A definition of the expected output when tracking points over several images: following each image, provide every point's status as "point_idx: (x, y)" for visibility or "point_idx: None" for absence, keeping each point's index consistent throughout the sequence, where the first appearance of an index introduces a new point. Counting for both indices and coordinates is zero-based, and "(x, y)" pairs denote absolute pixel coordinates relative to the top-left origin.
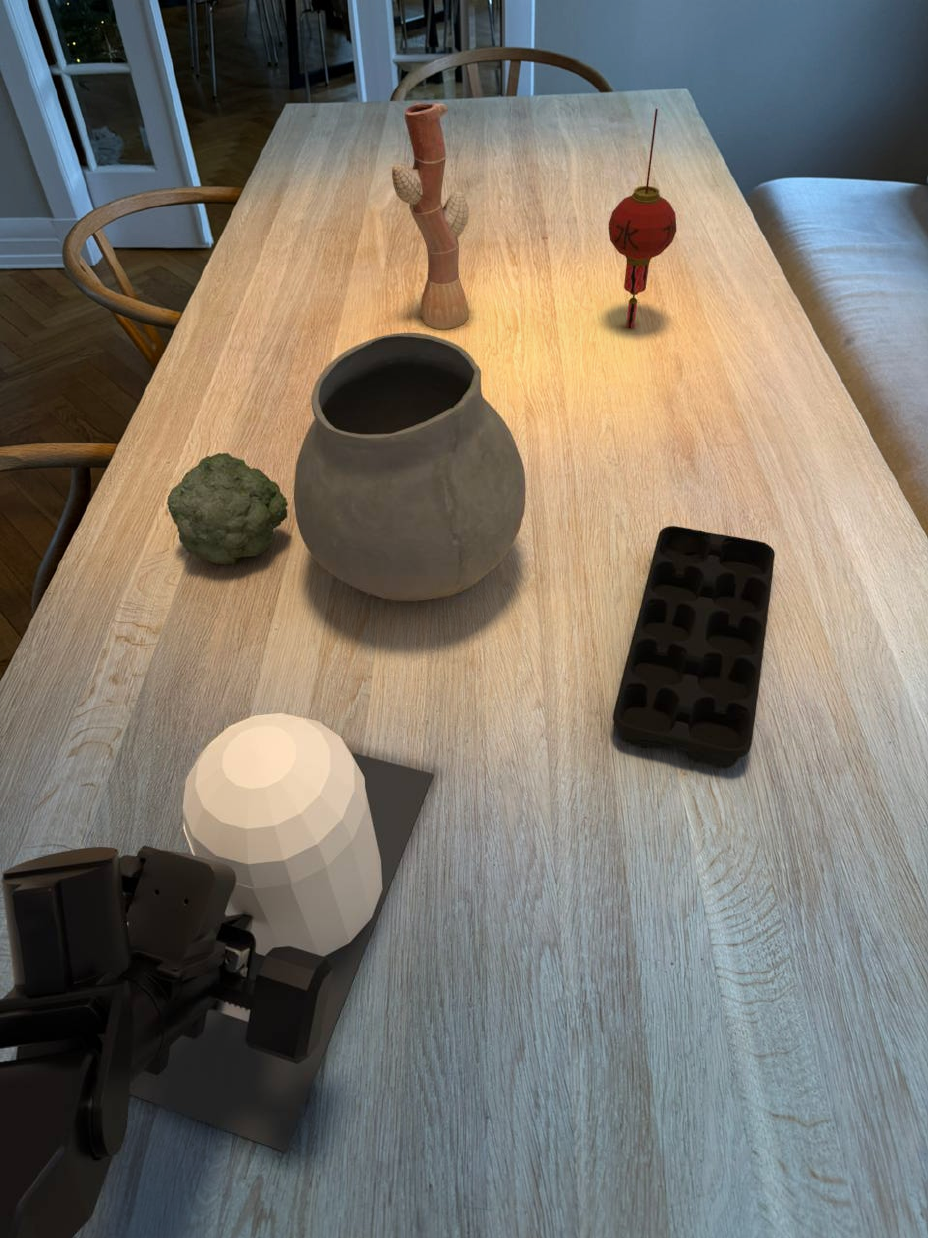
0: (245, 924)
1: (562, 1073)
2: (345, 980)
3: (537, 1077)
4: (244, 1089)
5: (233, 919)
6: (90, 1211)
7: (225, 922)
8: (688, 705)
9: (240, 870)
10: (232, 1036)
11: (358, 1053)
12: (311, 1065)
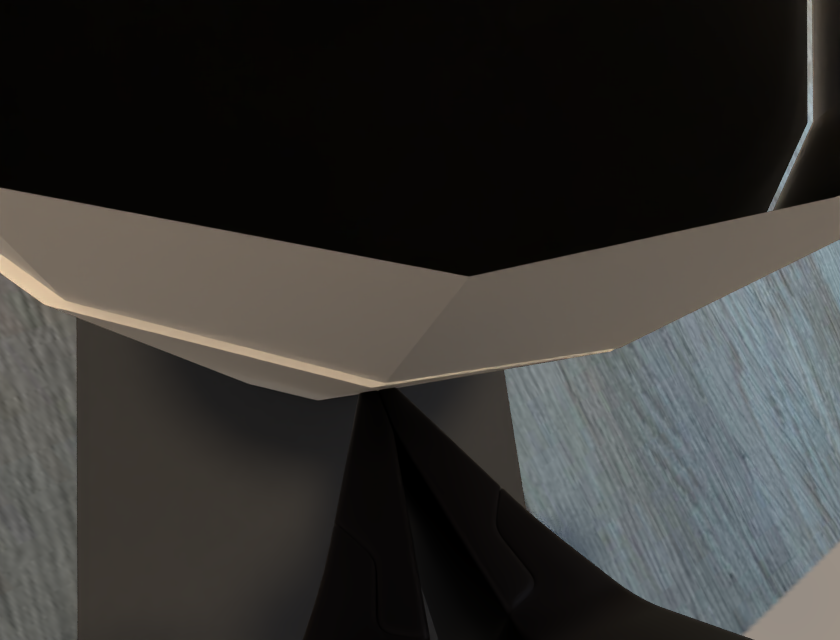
0: (457, 453)
1: (782, 362)
2: (493, 373)
3: (764, 380)
4: (435, 634)
5: (393, 454)
6: None
7: (404, 503)
8: None
9: (679, 284)
10: None
11: (566, 469)
12: None
